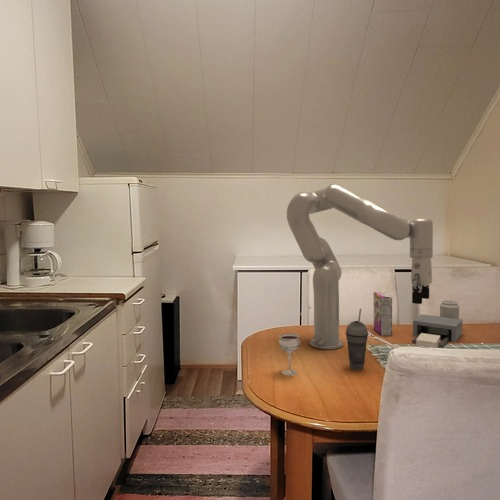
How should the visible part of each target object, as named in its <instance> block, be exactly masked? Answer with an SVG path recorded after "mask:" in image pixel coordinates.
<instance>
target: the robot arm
mask: <svg viewBox="0 0 500 500" xmlns="http://www.w3.org/2000/svg"><path fill="white" fill-rule="evenodd" d="M331 209H335V210H337V211H339V212H340V213H342V214H344V215H346V216H348V217H350V218H352V219H353V220H356V221H358V222H359V223H361V224H363V225H366V226H367V227H369V228H371V229H373V230H375V231H377V233H378V232H379V233H381V234H382V235H384V236H386V237H388V238H390V239H391V240H394V241H403V240H405V239H407V238H409V259H411V271H410V272H411V275H410V278H411V280H410V281H411V285H412V286H411V287H412V289H411V296H412V297H411V303H412V304H417V305H422V304H423V299H425V300H429V299H430V284H432V282H433V274H432V273H433V269H432V268H433V267H432V258H434V257H433V251H434V250H433V240H434V239H433V238H434V237H433V235H434V234H433V232H434V230H433V229H434V228H433V227H434V226H433V225H434V221H433V220H432V219H431V218H425V217H423V218H411V219H409V218H408V219H407V218H401V217H399V216H397V215H395V214H393V213H391V212H389V211H387V210H385V209H384V208H381V207H379V206H378V205H377V204H376V203H374V202H373V201H372V200H369V199H368V198H365V197H364V196H362V195H360V194H358V193H356V192H354V191H352V190H350V189H348V188H347V187H345V186H343V185H341V184H338V183H331V184H329V185H328V186H327V187H326V188H322V189H319V190H315V191H310V192H308V191H301V192H298V193H297V194H295V195H294V196H293V197H292V198H291V199H290V201H289V203H288V205H287V208H286V220H287V223H288V226H289V228H290V231H291V233H292V235H293V237H294V239H295V241H296V243H297V245H298V248H299V249H300V251H301V254H302V256H303V258H304V260H306V261H307V262H309V263H311V264H312V266H313V268H314V269H315V270H314V272H313V275H312V289H313V338H311V339H310V341H309V345H311V346H312V347H313V348H316V349H319V350H336V349H340V348H342V347H343V346H344V342H343V340H342V339H340V288H339V281H340V280H341V277H342V268H341V266H340V264H339V262H338V259H337V258H336V256H335V254H334V252H333V249H332V248H331V246H330V245H329V243H328V241H327V240H326V239H325V238H323V237H320V235H319V233H318V232H317V230H316V227H315V225H314V223H313V222H312V220H311V218H310V215H312V214H317V213H319V212H324V211H327V210H331Z"/></svg>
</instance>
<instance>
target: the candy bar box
mask: <svg viewBox="0 0 500 500" xmlns="http://www.w3.org/2000/svg"><path fill="white" fill-rule="evenodd" d="M373 329H374V330H375V331H376V333H378V334H379V335H380V337H381V336H382V337H389V336H393V297H392V296H391V295H390V294H389V293H387V292H385V291H373Z"/></svg>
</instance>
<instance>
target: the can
mask: <svg viewBox="0 0 500 500" xmlns="http://www.w3.org/2000/svg"><path fill="white" fill-rule="evenodd" d="M439 317H447V318H455V319H460V306H459V302H457V301H456V300H455V301H454V300H442V301H441V303H440V304H439Z"/></svg>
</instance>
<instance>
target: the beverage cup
mask: <svg viewBox="0 0 500 500" xmlns="http://www.w3.org/2000/svg"><path fill="white" fill-rule="evenodd" d="M361 313H362V308H359V311H358V320H354V321H351V322H350V323H348V325H347V327H346V330H345V336H346V337H345V338H346V342H347V353H348V363H349V368H350V369H351V370H353V371H362V370H364V368H365V362H366V361H365V360H366V350H367V343H368V339H369V337H368V335H369V334H368V333H369V332H368V331H369V330H368V328H367V326H366V324H365V323H363V322H362V321H360V320H361Z"/></svg>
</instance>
